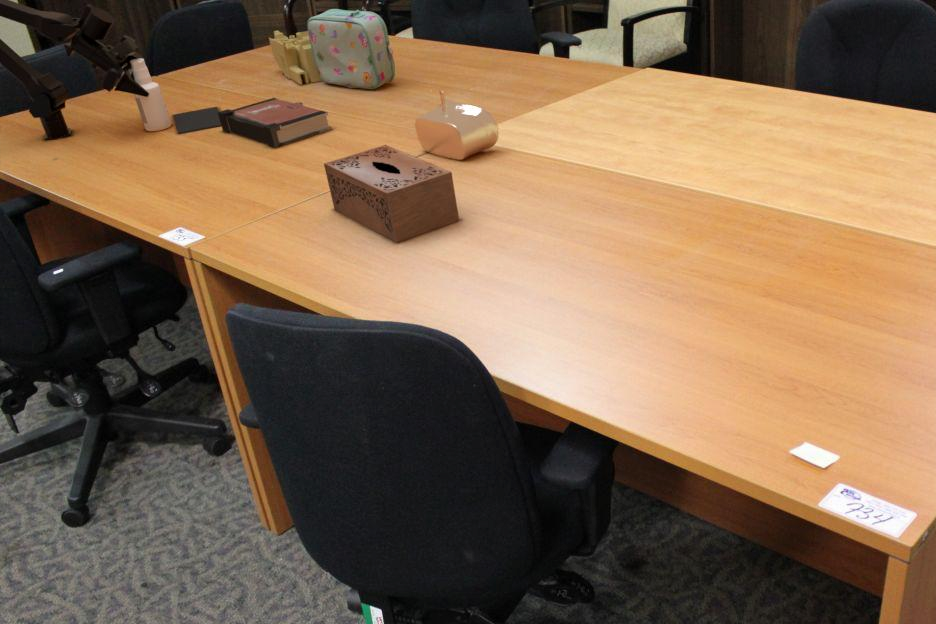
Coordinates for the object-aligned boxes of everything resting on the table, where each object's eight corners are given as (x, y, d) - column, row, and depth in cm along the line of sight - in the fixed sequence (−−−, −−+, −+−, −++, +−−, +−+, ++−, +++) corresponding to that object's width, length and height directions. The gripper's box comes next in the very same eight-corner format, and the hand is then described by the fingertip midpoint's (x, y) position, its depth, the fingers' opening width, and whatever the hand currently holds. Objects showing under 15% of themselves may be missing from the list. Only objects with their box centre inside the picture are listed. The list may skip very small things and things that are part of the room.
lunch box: (405, 83, 285) (391, 6, 273) (381, 93, 278) (366, 14, 266) (340, 76, 298) (324, 2, 286) (315, 85, 291) (298, 10, 279)
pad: (173, 115, 274) (172, 114, 273) (216, 107, 277) (216, 106, 277) (178, 134, 258) (178, 132, 258) (224, 125, 262) (224, 124, 262)
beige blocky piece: (353, 24, 293) (287, 29, 284) (361, 78, 299) (297, 85, 290) (328, 25, 312) (266, 31, 303) (337, 76, 318) (276, 83, 309)
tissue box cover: (334, 209, 203) (323, 163, 198) (394, 189, 211) (385, 144, 205) (396, 242, 186) (386, 193, 181) (459, 220, 194) (451, 172, 188)
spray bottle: (162, 122, 268) (140, 55, 259) (176, 125, 265) (155, 57, 255) (140, 129, 264) (117, 62, 254) (155, 132, 260) (132, 64, 251)
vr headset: (502, 149, 228) (494, 88, 220) (466, 164, 221) (457, 101, 213) (451, 137, 239) (442, 78, 231) (415, 151, 232) (405, 90, 224)
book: (333, 128, 252) (329, 109, 249) (275, 148, 242) (269, 128, 239) (280, 113, 268) (275, 95, 265) (222, 131, 257) (217, 112, 255)
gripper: (97, 36, 242) (156, 77, 248) (122, 20, 258) (177, 59, 264) (77, 71, 246) (135, 110, 253) (103, 53, 262) (157, 91, 268)
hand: (152, 91), depth 259 cm, fingers closed on spray bottle, 7 cm apart
